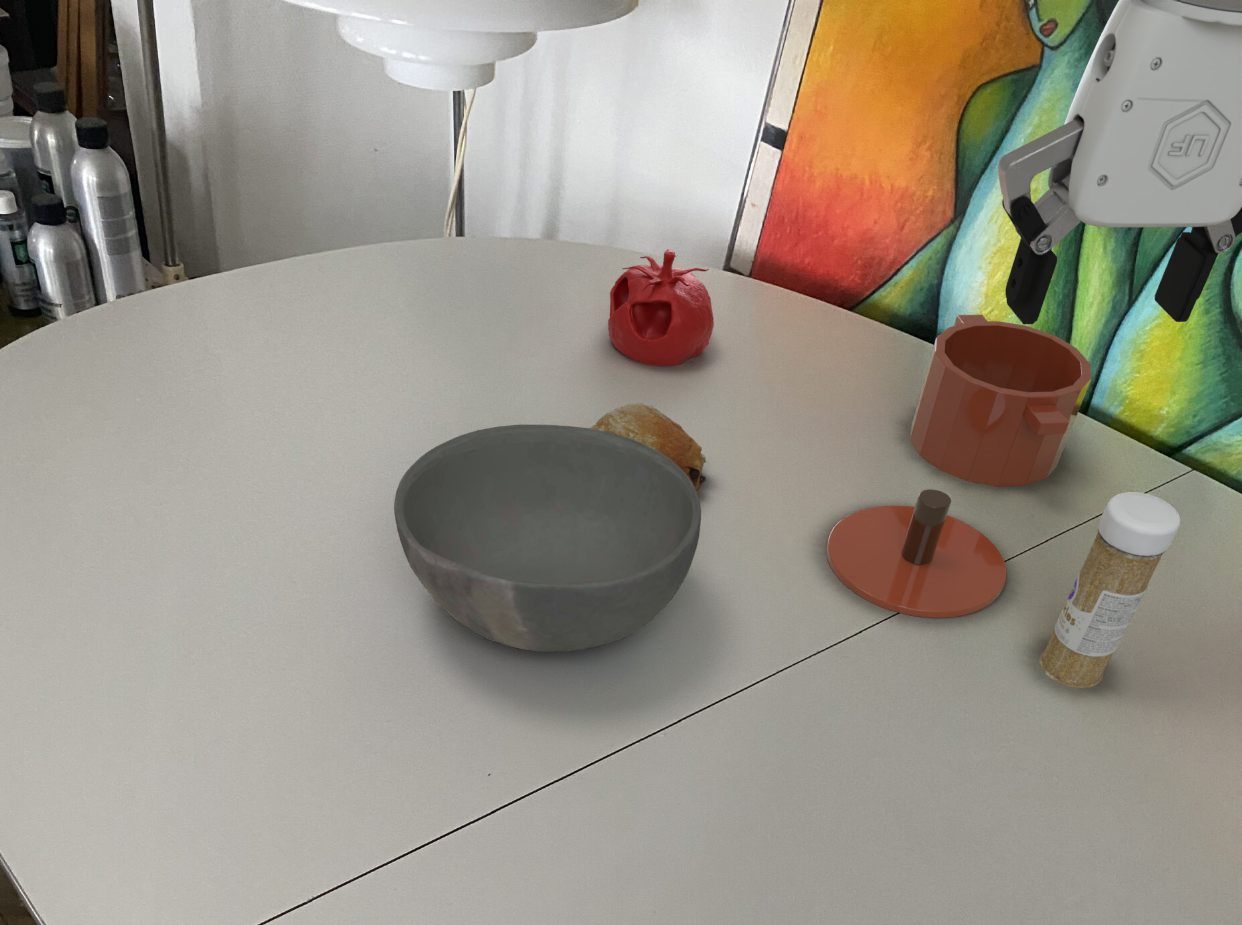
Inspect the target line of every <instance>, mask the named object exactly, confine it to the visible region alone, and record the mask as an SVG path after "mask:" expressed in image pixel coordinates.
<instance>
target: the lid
mask: <svg viewBox="0 0 1242 925" xmlns="http://www.w3.org/2000/svg"><path fill="white" fill-rule="evenodd" d="M951 505H952V499H951V497H950V496H949V495H948V494H947V493H945V492H944V491H941V490H938V489H924V490H922V491H920V492H919V493H918V496H917V498H916V502H915V506H910V505H909V506H908V505H879V506H873V507H867V508H864V509H860V510H857V511H854V512H853V513H850V514H848V515H846V516H845V517H843V518H842V519H840V520H839V521H838V522H837V523H836V524H835V525H834V527H833V528H832V530H831V531H830V533H829V537H828V539H827V543H826V552H825V553H826V559H827V561H828V564H829V567H830V568H831V570H832V572H833V573H834V575H835V576H836V577H837V579H838V580H839V581H840V582H841V583H842V584H843V585H844V586H845V587H846V588H848V589H849V590H850V591H852V592H853V593H854V594H856V595H857V596H859V597H860V598H862V599H864V600H866V601H867V602H870V603H871V604H874V605H875V606H878V607H881V608H884V609H885V610H889V611H893V612H895V613H898V614H904V615H907V616H912V617H913V616H914V617H920V618H932V619H949V618H956V617H957V618H958V617H962V616H967V615H970V614H974V613H976V612H979V611H981V610H983V609H985V608H986V607H988V606H990V605H991V604H992V603H993V602H994V601H995V600H997V598H998V597H999V596H1000V594H1001V593H1002V591H1003V589H1004V586H1005V583H1006V580H1007V565H1006V562H1005V560H1004V557H1003V556H1002V554H1001V551H1000V550H999V549H998V548H997V546H996V545H995V544H994V543H993V542H992V541H991V540H990V538H988V537H987V536H986V535H985V534H983V533H982V532H981V531H979V530H978V529H976V528H975V527H973V526H971V525H970V524H969V523H968V524H967V523H966V522H964V521H962V520H960V519H958V518H955V517H953V516H950V515H948V513H949V511H950V507H951Z"/></svg>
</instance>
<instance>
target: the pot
mask: <svg viewBox="0 0 1242 925" xmlns="http://www.w3.org/2000/svg"><path fill="white" fill-rule="evenodd" d="M1092 379H1093V378H1092V369H1091V363H1090V362H1089V360H1087V358H1086V357H1085V356H1084V355H1083V353H1082V352H1081V351H1080V350H1079V349H1078V347H1075V346H1074V345H1072V344H1070V343H1069V342H1067V341H1065V340H1064V339H1062V338H1061V337H1058V336H1057V335H1055V334H1051V333H1049V332H1046V331H1044V330H1040V329H1037V328H1034V327H1031V326H1029V325H1026V324H1019V323H1012V322H1006V321H1000V320H987V319H986V317H985V316H984V315H983V314H957V315H956V317H955V321H954V324H953V326H949V327H947V328H946V329H945V330H944V331H943V332H942V333H940V334H939V335H938V336H937V337H936V338H935V341H934V344H933V347H932V351H931V354H930V358H929V362H928V365H927V369H926V372H925V375H924V379H923V383H922V386H921V390H920V393H919V398H918V401H917V404H916V408H915V411H914V415H913V418H912V422H911V426H910V434H909V441H910V444H912V446H913V448H914V449H915V451H916V452H917V454H918V456H919V457H920V458H922V459H923V460H924V461H926V462H927V463H929V464H930V465H931V466H933V467H935V468H936V469H937V470H939V471H940V472H943V473H945V474H948V475H950V476H952V477H956V478H958V479H961V480H963V481H964V482H965V481H966V482H969V483H974V484H980V485H986V486H992V487H999V488H1000V487H1022V486H1028V485H1031V484H1034V483H1037V482H1039V481H1042V480H1045V479H1047V478H1048V477H1049V476H1050V475H1052V473H1053V472H1054V470H1055V469H1056V468H1057V467H1058V465H1059V463H1060V459H1061V457H1062V455H1063V452H1064V449H1065V448H1066V444H1067V442H1068V440H1069V436H1070V434H1071V432H1072V430H1073V426H1074V424H1075V422H1076V419H1077V416H1078V414H1079V411H1080V409H1081V406H1082V403H1083V401H1084V398H1085V396H1086V393H1087V391H1088V389H1089V386H1090V383H1091V381H1092Z"/></svg>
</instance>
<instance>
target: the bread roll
mask: <svg viewBox="0 0 1242 925" xmlns="http://www.w3.org/2000/svg"><path fill="white" fill-rule="evenodd" d="M589 429H594V430H600V431H604V432H609V433H613V434H617V435H620V436H624V437H626V438H629V439H632V440H635V441H637V442H640V443H642V444H644V445H646V446H649V447H651V448H652V449H654V450H656V451H658V452H660V453H661V454H663V455H664V456H666V457H668V458H669V459H671V460H672V461H673V462H674V463H676V464H677V465H678V466H679V467H680V468H681V469H682V470H683V472H684V473H685V474H686V475H687V476H688V477H689V479H690V480H691V482H692V483H693V485H694V487H695V489H696V491H697V492H698V490H699V489H700V486H701V485H702V484H703V483H705V482H706V476H704V475H702V471H703V468H704V464H705V463H706V462H707V459H706V456H705V455H704V454H703V453H702V450H703V447H702V446H701V445H699V443H698V442H697V441H696V440H695V439H694V438H693V437H692V436H690V435H689V434H688V432H686V431H685V430H684V429H683V427H682V426H681V425H680V424H678V423H677V422H675V421H674V420H672V419H671V418H670V417H668V416H667V415H666V414H664V413H663V412H661V411H660V410H658V409H657V408H655V407H654V406H653V405H651V404H646V403H640V402H639V403H629V404H625V405H622V406H620V407H617V408H614V409H612V410H610V411H608V412H606V413H604V415H602V416H601V417H600V418H599V419H598V420H597V421H596V422H595V424H594V425H591V427H589Z"/></svg>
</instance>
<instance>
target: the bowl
mask: <svg viewBox="0 0 1242 925" xmlns="http://www.w3.org/2000/svg"><path fill="white" fill-rule="evenodd" d="M393 502H394V503H393V511H394V518H395V525H396V529H397V530H396V531H397V534H398V538H399V541H400V544H401V548H402V550H403V553H404V556H405V557H406V560H407V562H408V564H409V567H410V568H411V570H412V571H413V573H414V575H415V577H417V579H418V580H419V582H420V583H421V585H422V586H423V587H424V589H426V591H427V592H428V593H429V594H430V595H431V596H432V598H433V599H434V601H436V602H437V604H438V605H439V606H440V607H441V608H442V609H443V610H444V611H445V612H447V614H449V615H450V616H451V617H452V618H453V619H454V620H455V621H457V622H458V623H459V624H460V625H462V626H463V627H465V628H467V629H469V630H470V631H472V632H473V633H475V634H477V635H479V636H481V637H483V638H485V639H487V640H489V641H491V642H496V643H499V644H502V645H505V646H508V647H510V648H511V647H512V648H515V649H520V650H523V651H524V650H525V651H526V650H527V651H534V652H547V653H548V652H549V653H550V652H551V653H552V652H553V653H557V652H558V653H559V652H572V651H580V650H584V649H585V650H587V649H593V648H597V647H600V646H604V645H607V644H610V643H611V644H612V643H613V642H616V641H619V640H621V639H624V638H627V637H628V636H630V635H632V634H633V633H636V632H637V631H638V630H640V629H641V628H643V627H644V626H646V625H648V623H650V622H651V621H653V619H654V618H656V617H657V616H658V615H659V614H660V613H661V612H662V611H664V609H665V608H666V607H667V605H668V604H669V603H670V602H671V600H672V599H673V598H674V596H675V595H676V594H677V592H678V591H679V590H680V588H681V586H682V584H683V583H684V580H685V579H686V577H687V575H688V573H689V571H690V568H691V566H692V563H693V560H694V557H695V554H696V552H697V548H698V545H699V544H698V543H699V540H700V533H701V532H700V531H701V523H702V506H701V501H700V496H699V494H698V490H697V491H696V489H695V487H694V485H693V483H692V482H691V480H690V479H689V477H688V476H687V475H686V474H685V473H684V472H683V470H682V469H681V468H680V467H679V466H678V465H677V464H676V463H674V462H673V461H672V460H671V459H669V458H668V457H666V456H664V455H663V454H661V453H660V452H658V451H656V450H654V449H652V448H651V447H649V446H646V445H644V444H642V443H640V442H637V441H635V440H632V439H629V438H626V437H624V436H620V435H617V434H613V433H609V432H604V431H600V430H594V429H590V427H589V428H588V427H582V426H581V427H580V426H570V425H557V424H511V425H500V426H493V427H488V428H483V429H477V430H473V431H471V432H467V433H464V434H461V435H458V436H455V437H453V438H451V439H449V440H447V441H444V442H442V443H441V444H438V445H436V446H435V447H433V448H432V449H430V450H428V451H426V452H425V453H424V454H422V455H421V456H420V457H419V458H418V459H417V460H416V461H415V462H413V464H412V465H410V467H409V468H408V469H407V470H406V471H405V472H404V475H402V477H401V479H400V480H399V482H398V486H397V487H396V493H395V496H394V501H393Z"/></svg>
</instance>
